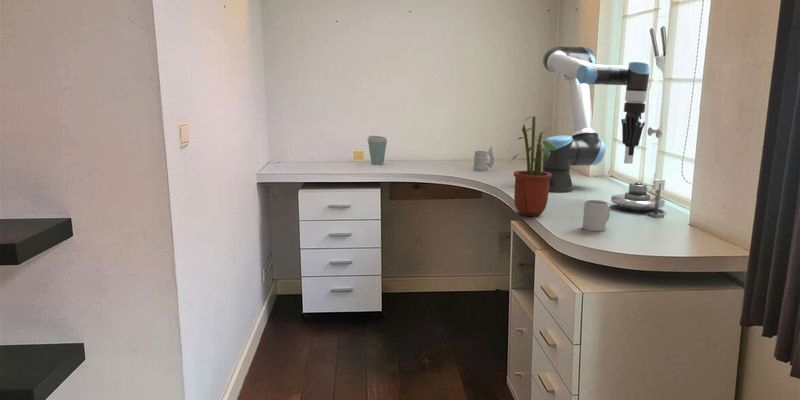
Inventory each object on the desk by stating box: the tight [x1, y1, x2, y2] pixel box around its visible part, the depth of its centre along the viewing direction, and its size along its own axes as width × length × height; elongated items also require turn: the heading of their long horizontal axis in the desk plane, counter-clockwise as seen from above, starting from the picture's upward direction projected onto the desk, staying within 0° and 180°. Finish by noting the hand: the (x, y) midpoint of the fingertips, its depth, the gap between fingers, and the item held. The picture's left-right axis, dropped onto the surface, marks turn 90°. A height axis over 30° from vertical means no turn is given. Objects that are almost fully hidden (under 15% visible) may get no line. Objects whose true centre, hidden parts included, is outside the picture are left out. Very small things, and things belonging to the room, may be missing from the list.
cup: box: [582, 199, 611, 232], centre depth 199 cm, size 7×10×9 cm
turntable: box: [610, 190, 666, 209], centre depth 232 cm, size 19×19×8 cm
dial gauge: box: [647, 178, 666, 219], centre depth 220 cm, size 4×6×13 cm
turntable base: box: [620, 205, 653, 213], centre depth 233 cm, size 11×11×2 cm
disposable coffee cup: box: [366, 135, 388, 166], centre depth 331 cm, size 11×11×15 cm
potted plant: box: [509, 115, 558, 217], centre depth 218 cm, size 17×16×35 cm
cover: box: [624, 182, 651, 201], centre depth 232 cm, size 9×9×6 cm
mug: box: [472, 147, 495, 172], centre depth 319 cm, size 8×12×12 cm, turn 112°
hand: (628, 163), depth 238 cm, fingers closed
